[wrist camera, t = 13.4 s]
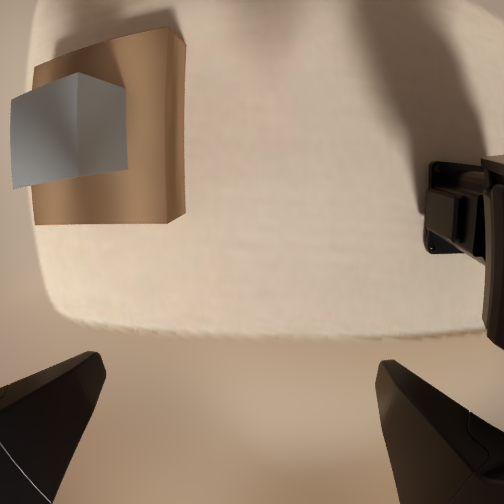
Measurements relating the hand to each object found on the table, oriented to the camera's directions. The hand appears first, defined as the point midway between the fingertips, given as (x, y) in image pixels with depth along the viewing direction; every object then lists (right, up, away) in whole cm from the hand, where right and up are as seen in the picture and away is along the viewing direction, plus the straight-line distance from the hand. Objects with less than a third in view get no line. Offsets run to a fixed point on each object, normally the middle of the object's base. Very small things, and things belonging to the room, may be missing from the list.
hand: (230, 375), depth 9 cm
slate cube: (-9, +11, +8) cm, 16 cm away
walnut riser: (-9, +12, +11) cm, 19 cm away
